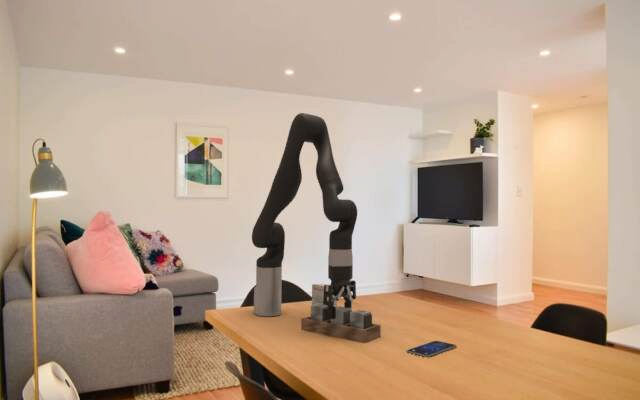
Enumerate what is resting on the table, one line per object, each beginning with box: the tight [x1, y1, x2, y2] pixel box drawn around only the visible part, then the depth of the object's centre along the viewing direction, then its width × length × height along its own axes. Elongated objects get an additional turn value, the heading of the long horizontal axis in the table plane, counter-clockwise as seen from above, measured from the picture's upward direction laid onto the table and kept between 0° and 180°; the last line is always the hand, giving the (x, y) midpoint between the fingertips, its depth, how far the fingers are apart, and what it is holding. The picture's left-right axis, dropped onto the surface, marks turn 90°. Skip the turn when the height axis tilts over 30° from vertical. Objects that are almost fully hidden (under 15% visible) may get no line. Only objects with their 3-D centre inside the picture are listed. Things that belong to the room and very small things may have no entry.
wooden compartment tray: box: [300, 304, 382, 344], centre depth 145 cm, size 24×9×8 cm, turn 53°
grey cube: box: [331, 306, 352, 325], centre depth 145 cm, size 5×4×6 cm
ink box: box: [311, 283, 338, 307], centre depth 164 cm, size 8×5×12 cm, turn 39°
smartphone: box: [405, 340, 457, 358], centre depth 128 cm, size 7×1×15 cm
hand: (340, 316), depth 145 cm, fingers open, 8 cm apart
